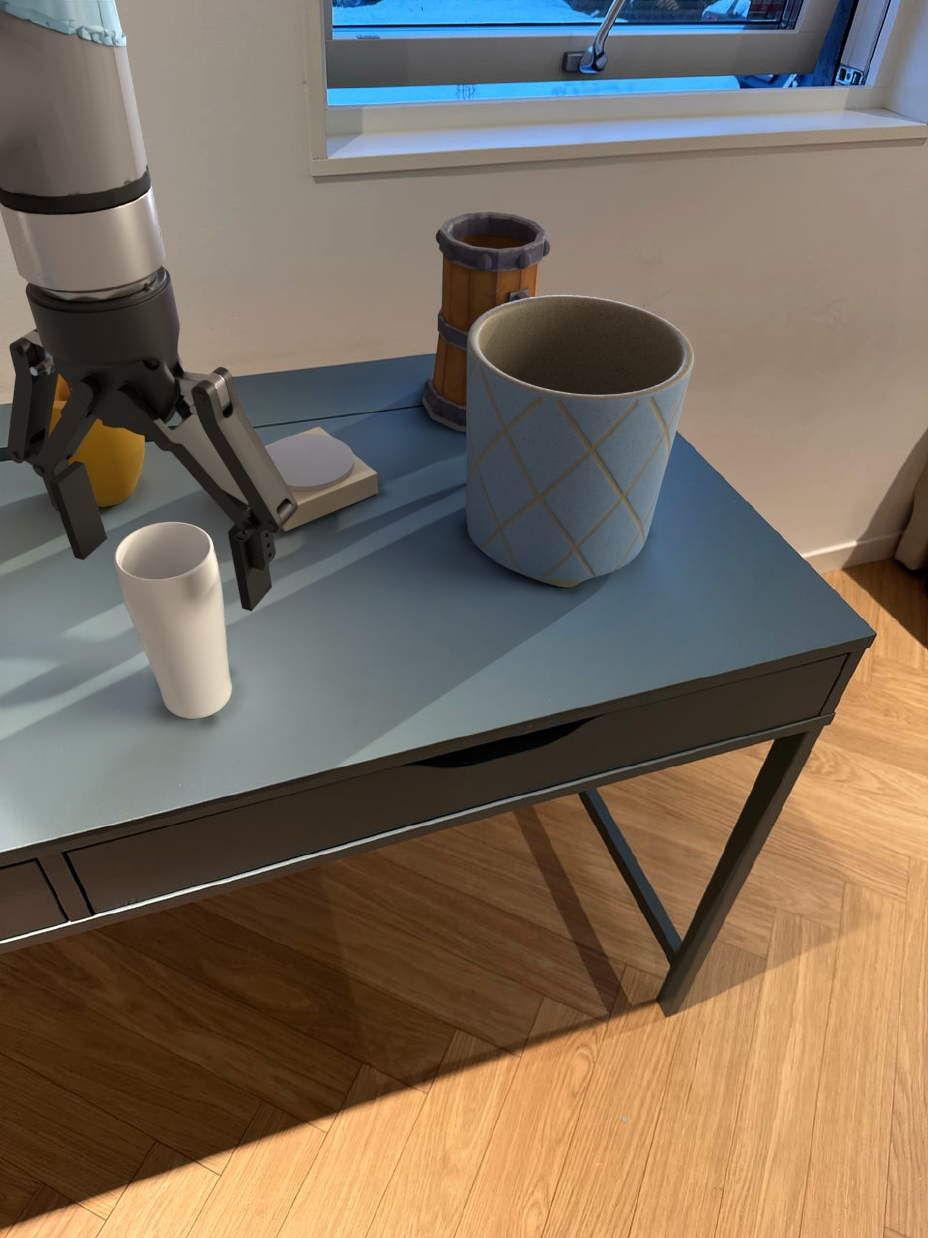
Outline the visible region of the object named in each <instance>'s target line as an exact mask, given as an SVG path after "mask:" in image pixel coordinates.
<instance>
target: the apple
mask: <svg viewBox="0 0 928 1238" xmlns="http://www.w3.org/2000/svg"><path fill="white" fill-rule="evenodd" d="M71 391H72V389H71V387H70V386H69V385H68V384H67V382H66V381H65V380H64V379H63V378H62V376H61V375H60V374H58V381H57V387H56V393H55V399H54V405H53V411H52V417H51V423H50V430H49V436H50V434H51V432H52V431H53V429H54V427H55V426H56V424H57V422H58V421H59V419H60V417H61V416H62V415H61V414H60V412H61V410H62V409H63V407H64V405H65V404H66V402H67V400H68V399H69V397H70V395H71V394H72V393H71ZM49 436H48V437H49ZM145 439H146V437H145V436H142V435H138V434H135V433H133V432H131V431H129V430H127V429H125V428H111V427H107V426H103V424H102V421H101V420H100V419H98V418H97V420H96V421H95V423H94V424H93V426H92V427H91V429H90V430H89V432H88V433H87V435H86V437H85V438H84V440H83V441H82V443H81V444H80V446H79V447H78V449H77V450H76V452H77V451H78V453H77V454H76V455H75V456H73V457H72V458H71V459H69V460H68V463H69V465H70V464H72V463H73V462H74V461H78V462H82V463H85V467H86V470H87V473H88V476H89V480H90V483H91V486H92V489H93V493H94V496H95V499H96V502H97V506H98V508H99V507H100V508H107V507H111V506H114V505H118V504H121V503H122V502H124V501H125V500H127V499H128V498H130V497H131V496H132V494H133V493H134V491H135V489H136V487H137V484H138V482H139V479H140V476H141V474H142V471H143V465H144V460H145V451H146V450H145V449H146V448H145V447H146V445H145V443H146V442H145V441H146V440H145Z"/></svg>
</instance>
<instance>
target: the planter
mask: <svg viewBox="0 0 928 1238" xmlns="http://www.w3.org/2000/svg"><path fill="white" fill-rule="evenodd" d="M693 348H694V347H693V346H692V344H691V342H690V340H689V339H688V338H687V336H686V334H684V333H683V332H682V331H681V330H680V329H679V328H678V327H677V326H675V325H674V324H672V323H671V322H669V321H668V320H666V319H664V318H662V316H659V315H657V314H655V313H653V312H650V311H648V310H645V309H643V308H640V307H638V306H635V305H632V304H628V303H626V302H620V301H616V300H612V299H607V298H602V297H596V296H595V297H594V296H586V295H572V294H569V295H568V294H556V295H554V294H553V295H540V296H537V297H531V298H525V299H520V300H516V301H512V302H509V303H505V304H503V305H500V306H497V307H495V308H493V309H491V310H489V311H487V312H486V313H484V314H483V315H481V316H480V317H479V318H478V319H477V320H476V321H475V322H474V323H473V325H472V326H471V328H470V331H469V334H468V338H467V397H466V432H465V433H466V435H465V437H466V439H465V440H466V441H465V443H466V445H465V446H466V450H465V451H466V454H465V455H466V456H465V458H466V460H465V461H466V462H465V463H466V465H465V466H466V467H465V468H466V469H465V470H466V471H465V472H466V473H465V475H466V476H465V510H466V511H465V515H466V524H467V532H468V536H469V538H470V539H471V541H472V542H473V543H474V545H476V547H477V548H479V550H481V552H483V553H484V554H485V555H486V556H487V557H488V558H490V559H491V560H492V561H494V562H496V563H497V564H499V565H501V566H503V567H504V568H506V569H509V570H511V571H513V572H515V573H517V574H520V575H522V576H525V577H528V578H530V579H532V580H535V581H539V582H542V583H545V584H547V585H548V584H549V585H552V586H557V587H559V588H567V589H568V588H569V589H570V588H574V587H576V586H577V585H580V584H581V583H583V582H585V581H588V580H590V579H593V578H598V577H601V576H604V575H608V574H611V573H614V572H616V571H619V570H620V569H622V568H623V567H625V566H627V565H628V564H629V563H631V562H632V561H633V560H634V559H635V558H636V557H637V556H638V555H639V554H640V553H641V552H642V549H643V548H644V546H645V544H646V542H647V538H648V536H649V532H650V530H651V529H650V528H651V524H652V521H653V518H654V514H655V510H656V507H657V504H658V503H657V502H658V499H659V496H660V491H661V487H662V483H663V481H664V476H665V473H666V469H667V465H668V463H669V459H670V455H671V451H672V447H673V444H674V441H675V437H676V433H677V429H678V425H679V422H680V418H681V414H682V410H683V406H684V402H685V399H686V395H687V390H688V387H689V382H690V379H691V376H692V372H693V368H694V362H695V351H694V349H693Z"/></svg>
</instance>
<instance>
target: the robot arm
mask: <svg viewBox="0 0 928 1238" xmlns="http://www.w3.org/2000/svg"><path fill="white" fill-rule="evenodd" d="M118 13H119V12H118V10H117V4H116V1H115V0H0V214H1V218H2V221H3V225H4V228H5V231H6V234H7V237H8V241H9V244H10V248H11V251H12V255H13V259H14V262H15V265H16V269H17V272H18V275H19V276H20V277H21V278H22V279H23V280H25V281H26V282H27V284H26V286H25V296H26V299H27V302H28V305H29V308H30V311H31V315H32V317H33V321H34V324H35V329H32V330H31V331H29V332H28V333H26V334H24V335H22V336H21V337H19V338H18V339H16V340H14V341H13V342H11V343H10V344H9V348H8V349H9V353H10V357H11V361H12V366H13V370H14V374H15V378H14V384H13V385H14V386H13V395H12V402H11V411H10V419H9V420H10V421H9V429H8V436H7V437H8V438H7V444H6V445H7V446H6V453H7V455H8V457H9V459H10V460H11V461H13V462H14V463H16V464H22V463H24V462H26V463H27V464H29V465H31V466H32V470H33V471H34V472H35V474H36V475H37V476H39V477H40V478H42V480H43V484H44V486H45V489H46V492H47V495H48V498H49V500H50V504H51V506H52V507H53V509H54V510H55V511H56V512H58V514H59V517H60V519H61V522H62V525H63V528H64V532H65V533H66V537H67V539H68V540H67V541H68V542H69V546H70V549H71V551H72V554H73V557H74V558H75V559H77V560H81V561H85V560H86V559H87V558H88V557H89V556H90V555H92V553H94V552H95V551H96V550H97V549H98V548H99V547H100V546H101V545H102V544H104V542H106V541H107V540H108V539H109V538H108V536H107V533H106V528H105V526H104V522H103V519H102V516H101V512H100V510H99V507H98V506H97V502H96V499H95V496H94V493H93V489H92V486H91V483H90V480H89V476H88V473H87V470H86V467H85V463H82V462H78V461H74V462H73V463H72V464H70V465H69V463H68V460H69V459H71V458H72V457H73V456H75V455H76V454H77V453H78V451H77V452H76V450H77V449H78V447H79V446H80V444H81V443H82V441H83V440H84V438H85V437H86V435H87V433H88V432H89V430H90V429H91V427H92V426H93V424H94V423H95V421H96V420H97V418H98V419H100V420H101V421H102V424H103V426H107V427H111V428H125V429H127V430H129V431H131V432H133V433H135V434H138V435H142V436H144V437H147V436H148V437H149V439H150V440H151V441H152V442H153V443H154V444H155V446H156V447H158V449H160V450H161V451H163V452H169V453H171V454H172V455H173V456H174V457H175V459H177V460H178V462H179V463H180V464H181V465H182V466H183V467H184V468H185V469H186V471H187V472H188V473H189V474H190V475H191V476H192V477H193V478H194V480H195V481H196V483H198V484H199V485H200V486H201V488H202V489H203V490H204V491H205V492H206V493H207V495H208V496H209V497H210V498H211V499H212V500H213V501H214V503H216V504H217V506H218V507H219V508H220V510H222V512H223V513H224V514H225V515H226V516H227V517H228V519H229V520H230V521H231V522H232V523H233V525H232V526H231V528H230V529H228V531H227V537H228V541H229V546H230V552H231V557H232V563H233V569H234V573H235V578H236V584H237V590H238V595H239V600H240V605H241V609H242V610H244V611H245V610H246V611H249V612H253V611H254V610H255V608H257V606H258V605H259V604H260V603H261V601H262V600H263V599H264V598H265V596H266V595H267V594H268V593H269V591H270V590H271V589H272V588H273V584H272V583H273V582H272V576H271V570H270V564H271V562H272V561H273V560H274V559H275V558H276V554H277V551H276V550H277V549H276V544H275V543H276V542H275V537H274V535H275V534H277V533H279V532H280V530H282V527H283V526H284V525H285V523H286V522H287V521H288V520H289V519H290V518H291V517H292V515H293V514H294V513H295V512H296V511H297V509H298V504H297V502H296V500H295V498H294V497H293V495H292V493H291V491H290V490H289V488H288V486H287V485H286V483H285V481H284V479H283V478H282V476H281V474H280V472H279V471H278V469H277V467H276V466H275V464H274V462H273V460H272V459H271V457H270V455H269V453H268V452H267V450H266V448H265V447H264V446H265V445H264V443H263V442H262V440H261V438H260V436H259V434H258V433H257V431H256V429H255V427H254V426H253V425H252V422H251V421H250V419H249V417H248V416H247V414H246V412H245V410H244V408H243V407H242V405H241V403H240V398H239V395H238V392H237V387H236V384H235V380H234V377H233V374H232V373H231V371H230V370H229V369H227V368H226V367H223V366H218V367H217V368H216V369H214V370H213V371H211V372H210V373H208V374H207V373H200V372H189V371H188V369H187V368H186V366H185V365H184V363H183V361H182V359H181V357H180V354H179V350H178V349H179V338H180V330H181V324H180V319H179V314H178V308H177V304H176V303H177V302H176V298H175V293H174V287H173V283H172V278H171V274H170V271H169V270H168V269H167V268H165V266H163V265H164V263H165V261H166V251H165V245H164V241H163V236H162V230H161V225H160V221H159V215H158V210H157V205H156V201H155V195H154V190H153V186H152V181H151V179H152V178H151V174H150V170H149V164H148V158H147V153H146V147H145V143H144V137H143V132H142V126H141V120H140V115H139V110H138V103H137V97H136V93H135V88H134V83H133V77H132V72H131V66H130V61H129V55H128V51H127V50H128V49H127V46H128V44H127V35H125V33H124V32H123V29H122V26H121V21H120V17H119V14H118ZM58 374H60V375H61V376H62V378H63V379H64V380H65V381H66V382H67V384H68V385H69V386H70V387H71V389H72V391H71V393H72V394H71V395H70V397H69V399H68V400H67V402H66V404H65V405H64V407H63V409H62V410H61V412H60V414H61V415H62V416H61V417H60V419H59V421H58V422H57V424H56V426H55V427H54V429H53V431H52V432H51V434H50V436H49V430H50V423H51V417H52V411H53V405H54V399H55V393H56V387H57V381H58ZM176 413H177V414H178V415H179V416H180V418H181V422H180V423H179V424H178V425H176V426H175V427H174V428H173V429H170V428H169V427H168V426H167V424H168V423H169V422H170V421H171V420H172V419H173V417H174V416H175V414H176ZM48 436H49V437H48ZM248 506H249V508H248Z"/></svg>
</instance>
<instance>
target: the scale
mask: <svg viewBox="0 0 928 1238" xmlns="http://www.w3.org/2000/svg"><path fill="white" fill-rule="evenodd" d="M264 447H265V448H266V450H267V452H268V453H269V455H270V457H271V459H272V460H273V462H274V464H275V466H276V467H277V469H278V471H279V472H280V474H281V476H282V478H283V479H284V481H285V483H286V485H287V486H288V488H289V490H290V491H291V493H292V495H293V497H294V498H295V500H296V502H297V504H298V509H297V511H296V512H295V513H294V514H293V515H292V517H291V518H290V519H289V520H288V521H287V522H286V523H285V525H284V526H283V527H282V528H281V530H283V531H284V532H287V531H290V530H292V529H295V528H297V527H300V526H302V525H304V524H307V523H309V522H312V521H314V520H317V519H320V518H322V517H324V516H326V515H329V514H331V513H334V512H335V511H338V510H341V509H344V508H345V507H348V506H350V505H353V504H356V503H358V502H360V501H362V500H365V499H368V498H370V497H372V496H374V495H377V494H378V493H379V487H378V486H379V484H378V483H379V482H378V481H379V480H378V472H377V471H376V470H374V469H373V468H371V467H370V466H369V465H367V464H366V463H365V462H364V461H363V460H362V459H361V458H359V457H358V456H356V455H355V454H354V452H353V450H352V449H351V447H350V446H348V444H346V443H345V442H344V441H343V440H340V439H339V438H335V437H333V436H331V434H329V433H328V432H327V431H326V430H324V429H323V428H322V427H320V426H317V427H313V428H311V429H308V430H306V431H303V432H299V433H297V434H294V435H290V436H289V435H288V436H286V437H283V438H280V439H277V440H276V441H274V442H272V443H269V444H266V445H264Z"/></svg>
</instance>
